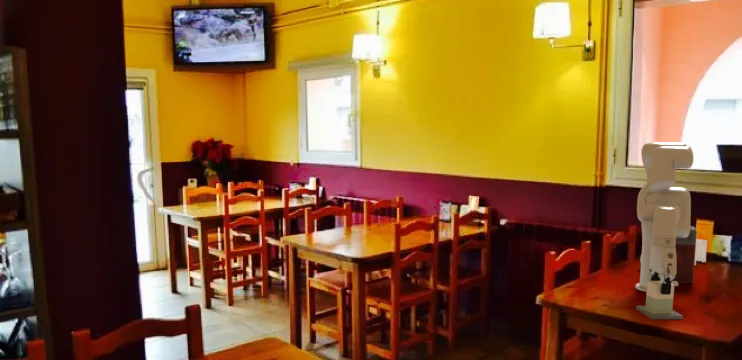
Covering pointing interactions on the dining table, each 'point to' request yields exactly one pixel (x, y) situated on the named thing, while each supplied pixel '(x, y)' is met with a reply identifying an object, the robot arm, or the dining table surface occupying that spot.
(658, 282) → the cream brick
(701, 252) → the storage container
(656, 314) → the baseplate
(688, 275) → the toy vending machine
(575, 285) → the dining table surface
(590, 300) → the dining table surface
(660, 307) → the sage brick
